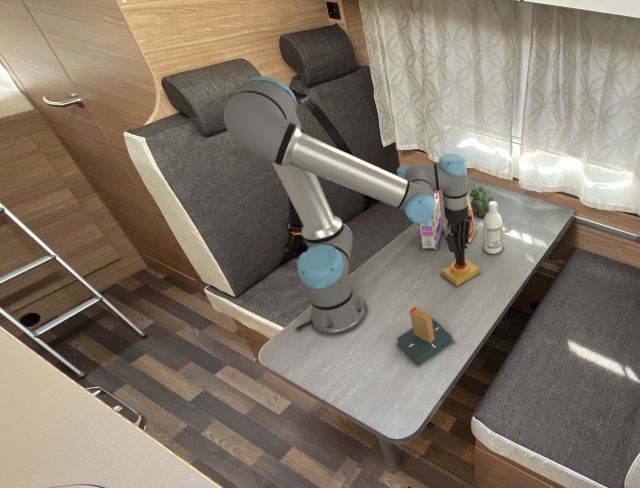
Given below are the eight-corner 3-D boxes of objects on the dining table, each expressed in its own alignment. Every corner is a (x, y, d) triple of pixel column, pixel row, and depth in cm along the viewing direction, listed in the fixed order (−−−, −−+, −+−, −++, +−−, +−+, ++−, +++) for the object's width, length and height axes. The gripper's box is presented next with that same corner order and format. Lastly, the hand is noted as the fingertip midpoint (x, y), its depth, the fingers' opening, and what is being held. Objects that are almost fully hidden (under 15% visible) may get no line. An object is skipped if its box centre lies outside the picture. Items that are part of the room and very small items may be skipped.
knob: (434, 339, 115) (431, 314, 108) (430, 343, 114) (426, 319, 107) (418, 330, 117) (414, 306, 110) (414, 334, 116) (409, 310, 109)
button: (459, 273, 137) (459, 269, 136) (453, 268, 139) (452, 264, 138) (467, 268, 139) (467, 264, 138) (461, 263, 141) (460, 259, 140)
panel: (418, 366, 112) (417, 359, 109) (398, 344, 117) (396, 337, 115) (452, 342, 118) (451, 335, 116) (431, 323, 123) (430, 316, 121)
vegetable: (467, 196, 176) (497, 186, 170) (473, 224, 175) (503, 215, 169) (452, 191, 165) (484, 180, 159) (458, 221, 164) (490, 212, 158)
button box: (456, 286, 136) (456, 277, 133) (442, 274, 140) (441, 265, 138) (479, 273, 141) (478, 264, 139) (464, 262, 146) (464, 253, 143)
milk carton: (469, 242, 154) (467, 197, 141) (446, 239, 156) (442, 194, 142) (475, 229, 161) (474, 185, 148) (453, 226, 162) (450, 181, 149)
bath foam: (505, 249, 152) (507, 204, 139) (491, 256, 148) (491, 210, 135) (494, 240, 156) (494, 195, 143) (480, 247, 152) (479, 202, 139)
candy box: (437, 249, 151) (433, 212, 140) (421, 249, 151) (416, 211, 140) (442, 228, 161) (439, 192, 150) (428, 227, 161) (423, 191, 150)
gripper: (458, 192, 128) (462, 250, 144) (432, 211, 119) (439, 270, 135) (478, 199, 125) (480, 257, 141) (453, 218, 117) (458, 278, 132)
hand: (460, 263), depth 138 cm, fingers closed
